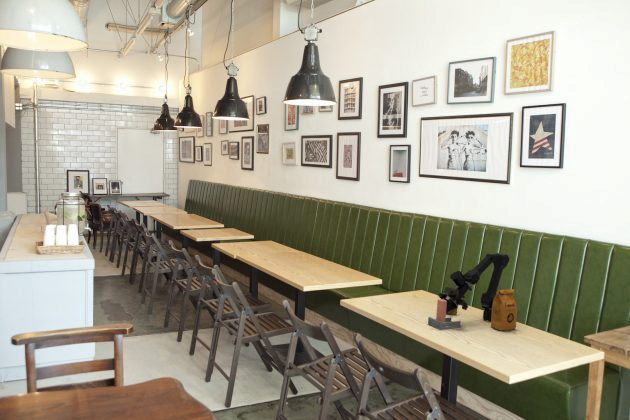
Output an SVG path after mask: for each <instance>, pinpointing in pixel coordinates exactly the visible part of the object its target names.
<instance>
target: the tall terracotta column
mask: <svg viewBox="0 0 630 420" xmlns="http://www.w3.org/2000/svg"><path fill="white" fill-rule="evenodd" d="M436 303H437V304H436V305H437V306H436V317H435V319H436V320H438V321H441V322H443V323H446V322H445V319H446V318H447V315H446V306H447V301H446V300H443V299H440V298H439V299H437V302H436Z"/></svg>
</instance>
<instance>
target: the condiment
mask: <svg viewBox="0 0 630 420" xmlns="http://www.w3.org/2000/svg"><path fill="white" fill-rule="evenodd" d="M459 315H461V314H459V313H458V309H457V308H456V309H454V310H451V311H449V312H447V313H446V317H447V316H448V317H451V318H452V317H457V316H459Z"/></svg>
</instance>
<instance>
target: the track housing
mask: <svg viewBox="0 0 630 420" xmlns="http://www.w3.org/2000/svg"><path fill="white" fill-rule="evenodd" d="M427 318H428V319H427V325H428V326H430V327H433V328H435V329H437V330H439V331H444V330H451V329H460V328H462V327H463V325H462V324H461V321H460V320H455V321H454V320H452V317H451V316H448V317H446V319H445V322H446V323H443V322H441V321H438V320H436V318H433V317H431V316H428V317H427Z"/></svg>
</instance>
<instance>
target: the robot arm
mask: <svg viewBox="0 0 630 420" xmlns="http://www.w3.org/2000/svg"><path fill="white" fill-rule="evenodd" d="M509 262H510V257H509V255H508V254H506V253H502V252H501V253H500V252H496V253H487V254H485V256H484V258H483V259H481V261H480V262H479V263H477V265H476V266H474V267H473V268H472V269H470V270H469V269H468V270H467V272H465V273H464V274H463V273H462V271H460V270H457V271H454V272H453V273H450V275H449V278H450V280H451V281H452V283H453V284H454V285H455V287H454V288H452V287H448V286H445V288H444V290H443V292H439V293H438V294H437V297H438V298H439V299H443V300H446V301H447V306H446V313H447V312H449V311H451V310H454V309H456V308H457V310H458V309H459V306H461V309H462V310H464V311H467V309H468V308H469V305H468V304H467V302H466V300H464V299H465V298H466V294H467V293H468V291H470V292H472V291H473V288H472V287H473V286H472V285H476V284H477V283H478V282H479V280H480V279H481V275H482V274H483V273H484V272H485V271H486V270H487V269H488V268H489V267H490V266H491V264H492V265H493V270H492V273H491V276H490V280H489V283H488V287H487V290H486V292H485V293H484V292H482V293H481V297H480V304H481V308H482V309H484V310H483V312H482V320H483V321H485V322H491V314H492V305H493V300H494V298H495V296H496V294H497V292H498V288H499V283H500V281H501V277H502V274H503V270H504V269H505V268H506V267H507V266H508V264H509Z"/></svg>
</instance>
